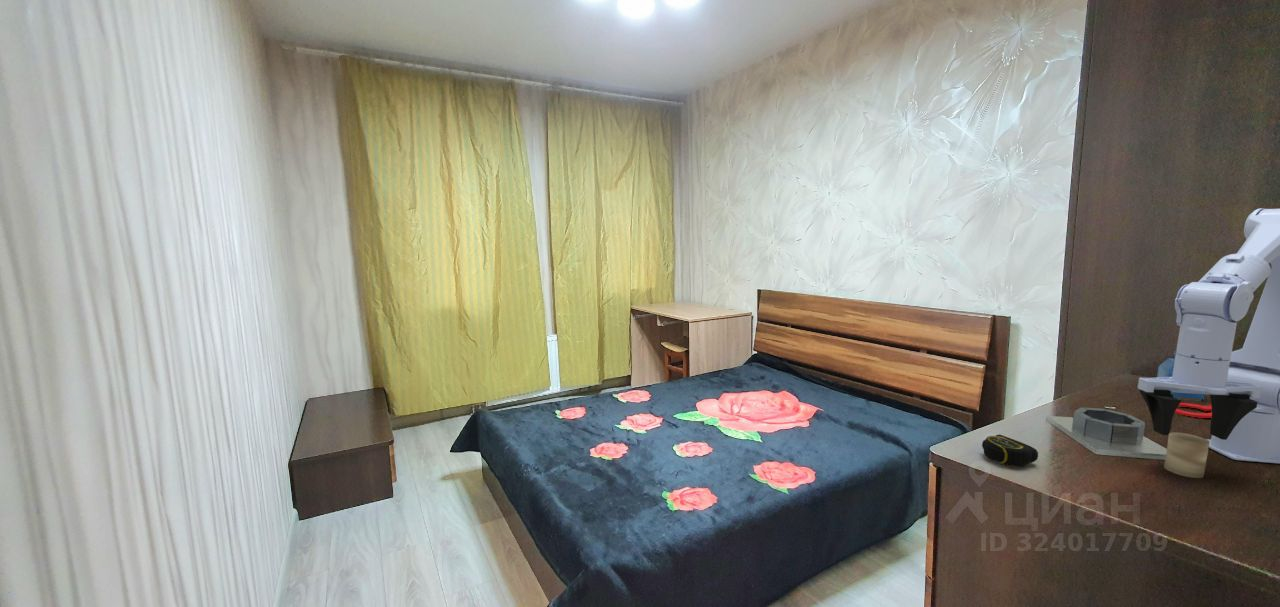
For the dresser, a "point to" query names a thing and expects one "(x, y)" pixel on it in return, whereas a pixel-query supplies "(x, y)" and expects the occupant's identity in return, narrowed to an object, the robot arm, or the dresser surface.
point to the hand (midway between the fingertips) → (1189, 434)
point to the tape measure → (1009, 451)
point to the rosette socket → (1109, 433)
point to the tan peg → (1186, 455)
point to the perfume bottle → (1167, 371)
